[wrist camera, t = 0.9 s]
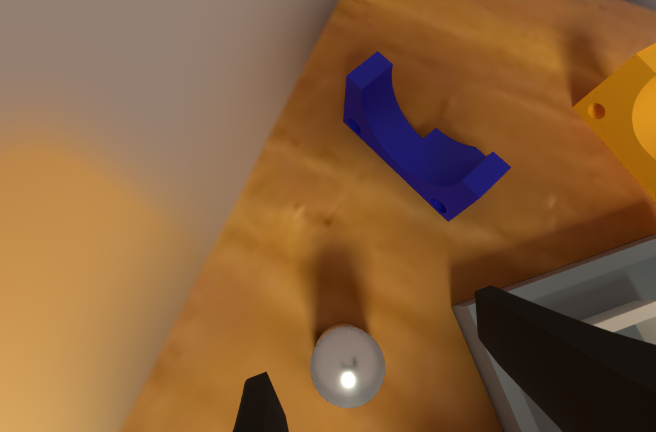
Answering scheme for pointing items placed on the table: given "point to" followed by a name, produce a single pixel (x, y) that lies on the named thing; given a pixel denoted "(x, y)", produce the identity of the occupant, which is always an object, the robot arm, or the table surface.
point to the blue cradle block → (416, 144)
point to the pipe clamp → (628, 116)
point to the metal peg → (347, 366)
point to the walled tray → (576, 302)
